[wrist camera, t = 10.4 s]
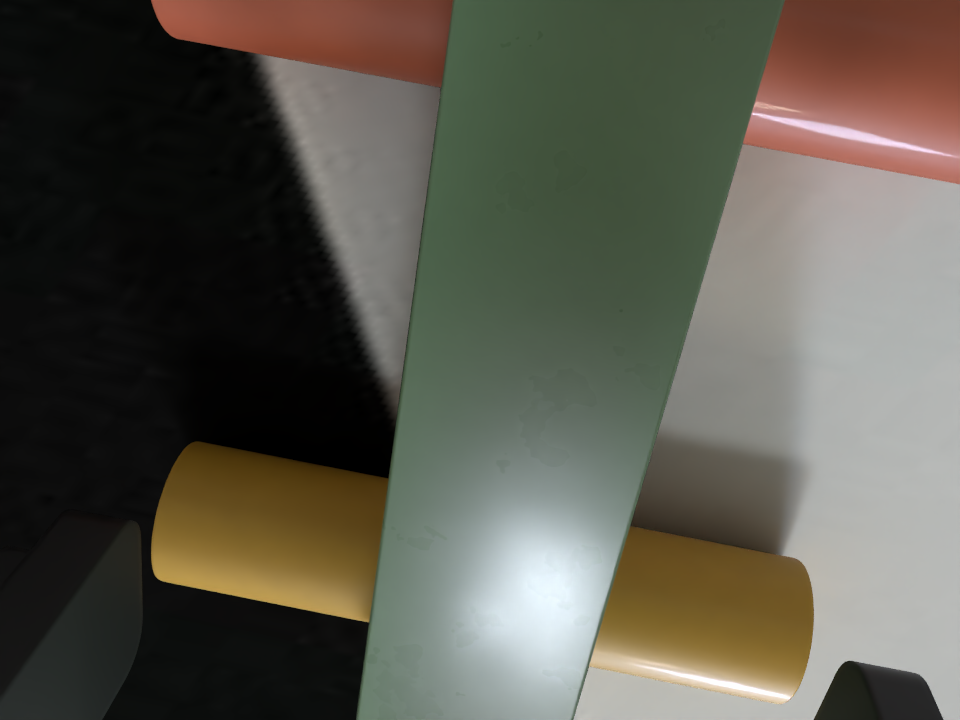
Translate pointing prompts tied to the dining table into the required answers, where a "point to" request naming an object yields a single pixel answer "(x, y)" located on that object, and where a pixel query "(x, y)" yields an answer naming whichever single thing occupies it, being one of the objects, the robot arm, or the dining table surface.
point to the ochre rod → (354, 553)
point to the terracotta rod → (781, 96)
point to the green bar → (547, 334)
